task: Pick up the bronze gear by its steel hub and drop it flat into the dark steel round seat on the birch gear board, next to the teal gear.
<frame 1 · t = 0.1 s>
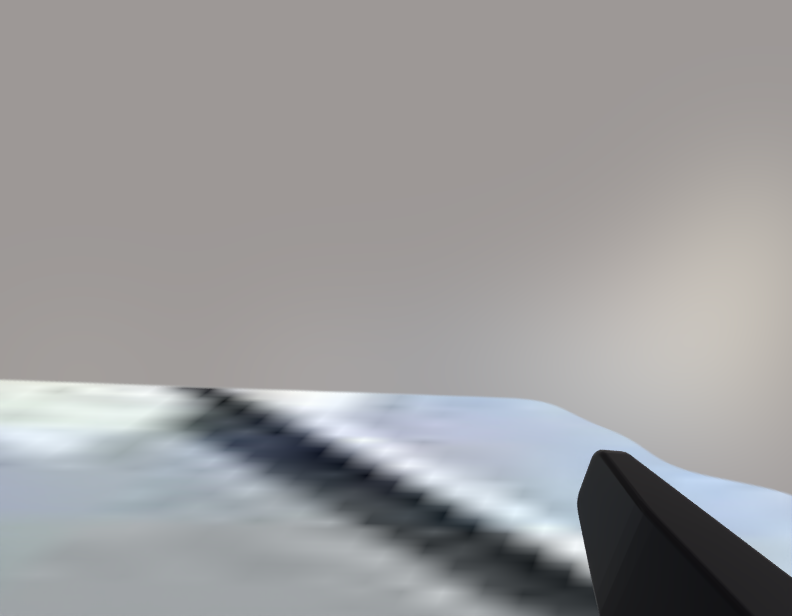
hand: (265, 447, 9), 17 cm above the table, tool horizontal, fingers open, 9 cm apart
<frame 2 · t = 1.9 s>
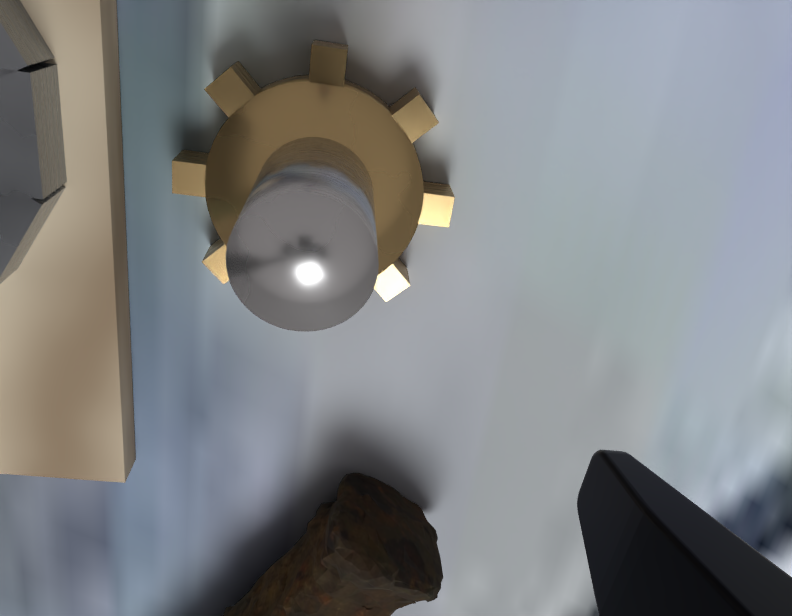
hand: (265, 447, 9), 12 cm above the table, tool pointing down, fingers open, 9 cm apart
bronze gear: (317, 182, 19), on the table
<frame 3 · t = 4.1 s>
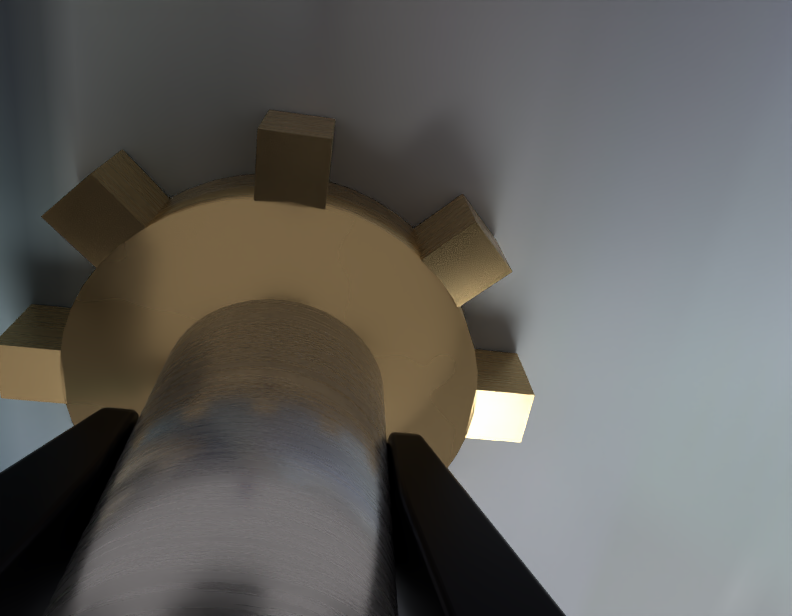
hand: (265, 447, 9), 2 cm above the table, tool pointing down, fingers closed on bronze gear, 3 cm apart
bronze gear: (282, 353, 11), on the table, touching gripper
when the fingers open (5 cm above the table, at t = 8.7 s): bronze gear drops 1 cm, resting on gear board.
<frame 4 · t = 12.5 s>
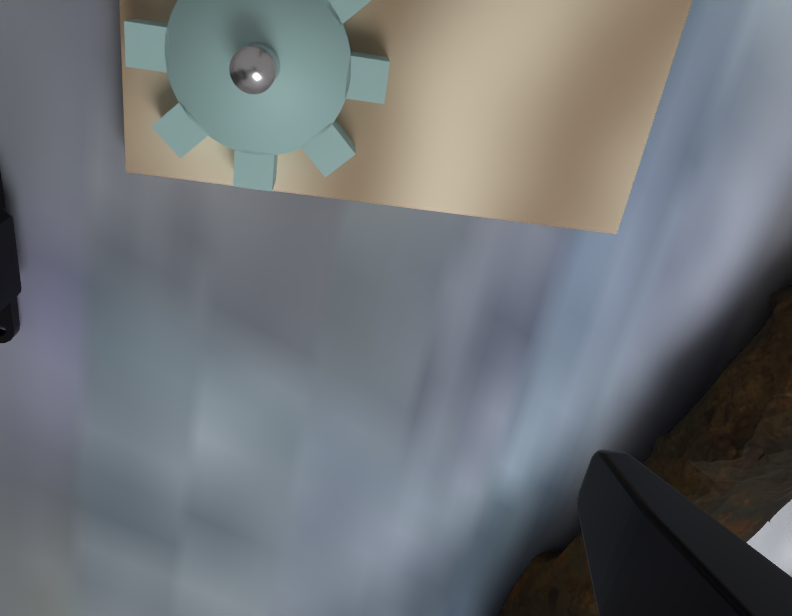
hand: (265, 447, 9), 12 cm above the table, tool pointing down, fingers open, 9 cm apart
hand tool: (645, 485, 26), on the table
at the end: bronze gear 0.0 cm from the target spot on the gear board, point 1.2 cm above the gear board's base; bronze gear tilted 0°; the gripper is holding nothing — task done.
